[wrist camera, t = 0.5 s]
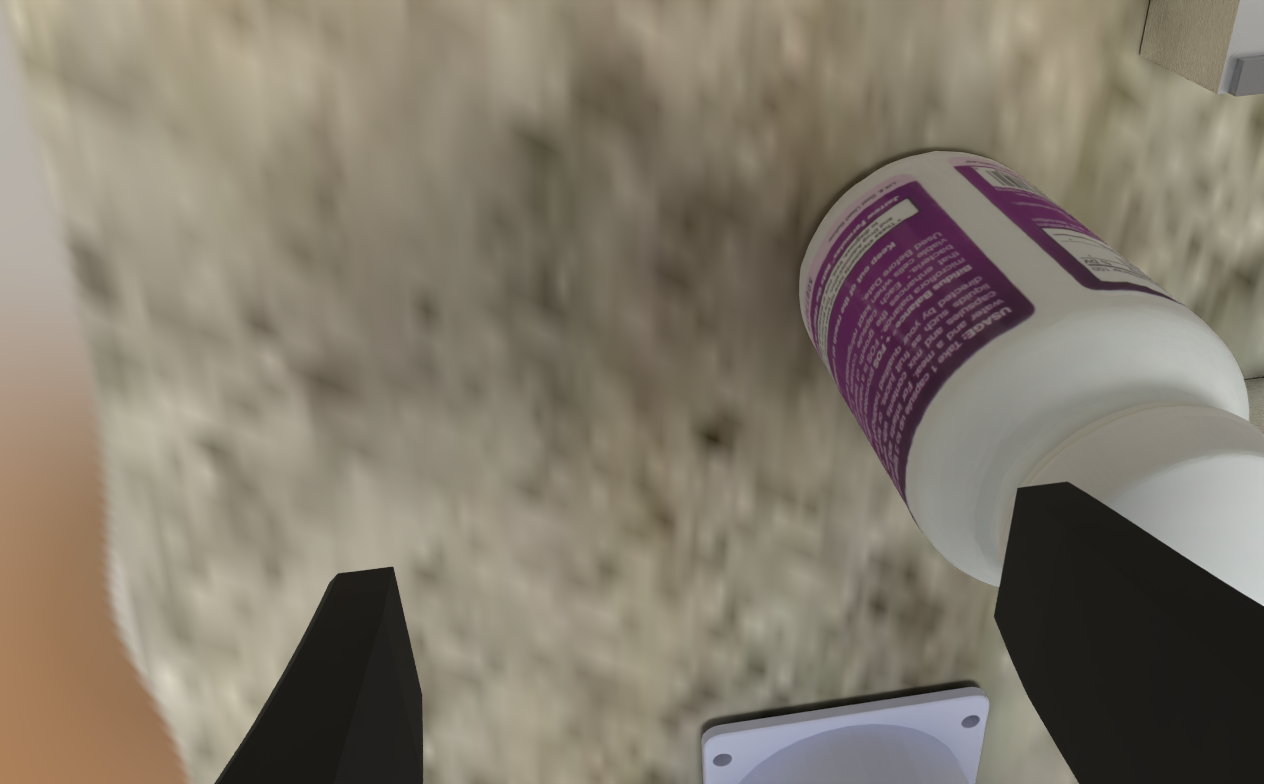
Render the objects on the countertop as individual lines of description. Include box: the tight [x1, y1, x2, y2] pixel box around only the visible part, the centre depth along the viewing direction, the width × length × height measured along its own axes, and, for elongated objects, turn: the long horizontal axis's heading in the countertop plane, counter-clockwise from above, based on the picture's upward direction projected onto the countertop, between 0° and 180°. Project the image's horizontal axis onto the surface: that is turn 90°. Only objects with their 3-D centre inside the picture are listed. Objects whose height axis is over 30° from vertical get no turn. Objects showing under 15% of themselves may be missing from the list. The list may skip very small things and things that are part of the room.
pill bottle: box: [799, 151, 1264, 606], centre depth 18 cm, size 5×5×10 cm
